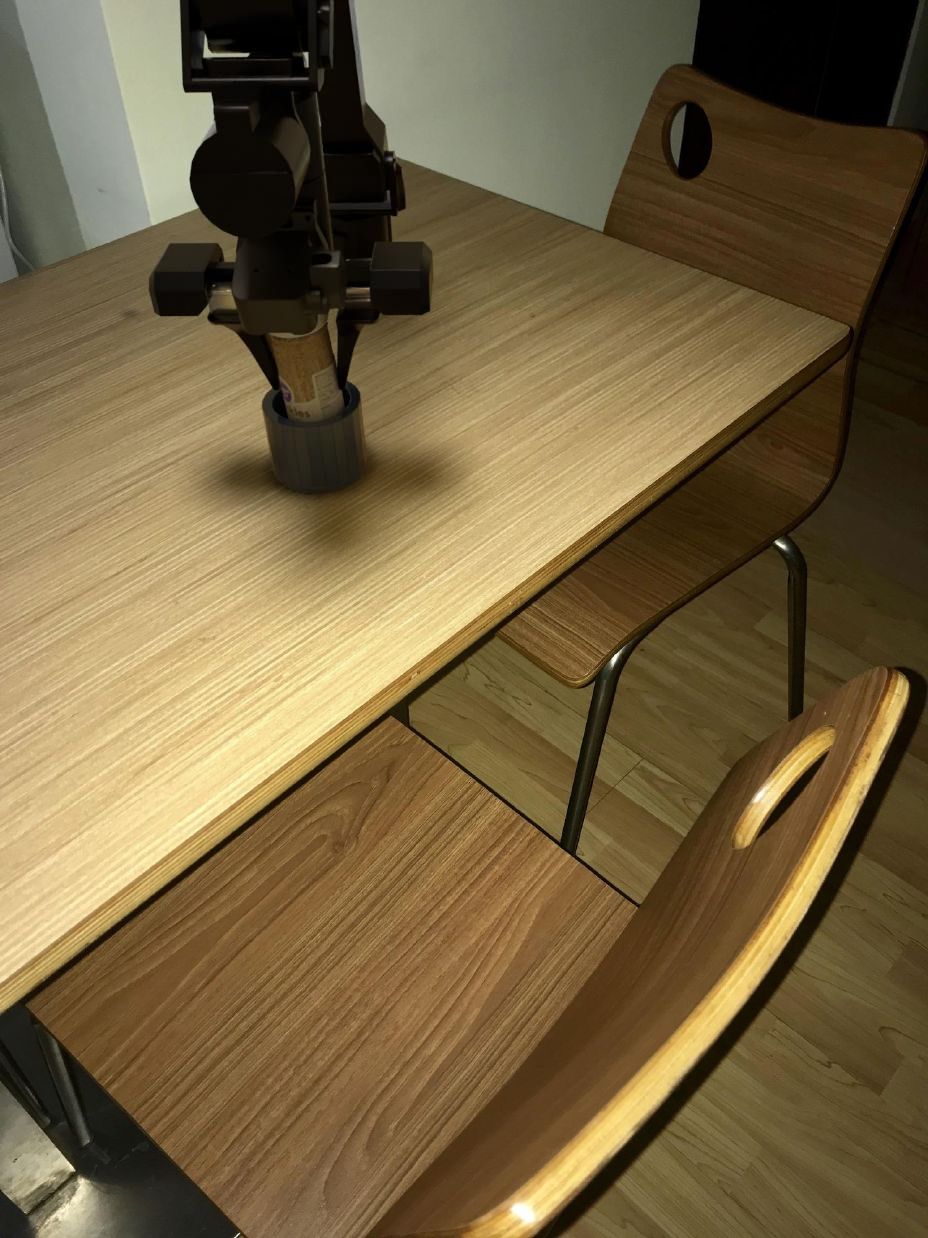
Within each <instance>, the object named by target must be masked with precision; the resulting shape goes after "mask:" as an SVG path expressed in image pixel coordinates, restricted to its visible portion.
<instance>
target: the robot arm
mask: <svg viewBox="0 0 928 1238" xmlns="http://www.w3.org/2000/svg"><path fill="white" fill-rule="evenodd" d="M356 14H357V13H356V5H355V0H179V15H180V16H179V21H180V48H181V49H180V51H181V52H180V53H181V76H182V79H181V82H182V83H181V84H182V89H183V92H184V93H185V94H199V93H202V94H206V93H209V94H211V99H212V105H213V107H212V114H213V121H212V124H211V125H210V126H209V128H208V130H207V132H206V133H205V134H204V137H203V138H202V140H201V142H200V144H199V145H198V147H197V149H196V150H195V153H194V154H193V157H192V160H191V163H190V171H189V178H188V180H189V188H190V191H191V194H192V197H193V200H194V203H195V204H196V206H197V207H198V209H199V211H200V212H201V214H202V215H203V216H204V217H205V218H206V220H207V221H209V222H210V223H211V224H212V225H213V226H215V227H216V228H218V229H219V230H220V231H222V232H224V233H225V234H229V235H231V236H232V237H236V238H237V241H236V248H235V261H225V255H224V250H223V248H222V247H221V245H220V244H219V243H218V242H169V243H168V244H167V246H166V247H165V249H164V250H163V252H162V253H161V255H160V257H159V259H158V260H157V262H156V264H155V266H154V267H153V270H152V271H151V273H150V274H149V277H148V292H149V297H150V300H151V305H152V309H153V312H154V313H155V314H156V316H157V315H158V316H159V317H199V316H200V315H201V314H202V313H203V311H205V309H206V308H207V307H208V308H209V312H208V314H207V317H206V318H207V319H206V320H207V321H208V322H209V324H211V325H213V326H221V327H224V328H226V329H229V331H232V332H234V333H235V334H236V335H237V336H238V338H240V340H241V341H242V343H243V344H244V345H245V347H246V348H247V349H248V350H249V352H250V354H251V355H252V356H253V359H254V360H255V362H256V363H257V366H258V367H259V368H260V370H261V372H262V373H263V376H264V377H265V378H266V380H267V381H268V383H269V385H270V387H271V388H273V390H275V391H279V390H280V387H281V384H280V380H279V372H278V369H277V364H276V360H275V356H274V352H273V348H272V344H271V340H270V337H269V335H268V333H291V334H293V335H305V334H308V333H310V332H312V331H313V330H314V329H315V328H316V326H317V322H318V315H323V314H328V315H329V314H330V310H333V309H337V313H336V318H335V327H336V330H337V331H336V332H337V333H336V334H337V335H336V336H337V339H336V340H337V341H336V345H337V346H336V365H337V379H338V385H339V390H345V387H346V382H347V381H348V377H349V372H350V368H351V364H352V359H353V355H354V351H355V347H356V345H357V343H358V340H359V337H360V335H361V333H362V331H363V329H364V327H365V326H369V325H370V326H372V325H376V324H378V323H379V322H380V320H381V317H382V316H423V315H426V314H427V313H430V312H431V307H432V299H433V297H432V296H433V295H432V294H433V288H434V287H433V286H434V260H433V259H434V258H433V256H434V255H433V250H432V249H431V248H430V247H429V246H428V245H427V244H426V242H425V241H422V240H421V241H419V240H418V241H393V229H392V217H398V215H399V212H401V211H403V210H406V209H407V197H406V185H405V179H404V171H403V167H402V165H400V164H399V162H398V159H397V155H396V151H395V149H392V150H390V149H389V142H388V134H387V127H386V124H385V123H384V121H383V120H382V118H381V117H380V116H379V115H378V114H377V113H376V112H375V111H374V109H372V107H371V106H370V105H369V104H368V102H367V99H366V91H365V81H364V74H363V65H362V64H363V63H362V56H361V49H360V47H361V46H360V40H359V29H358V22H357V15H356ZM205 39H206V40H205ZM205 41H206V45H207V49H208V51H210V53H211V54H217V55H218V54H222V55H223V54H225V55H226V54H247V56H205V55H204V54H205ZM305 53H307V58H306V56H305Z"/></svg>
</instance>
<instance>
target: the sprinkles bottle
mask: <svg viewBox="0 0 928 1238" xmlns="http://www.w3.org/2000/svg"><path fill="white" fill-rule="evenodd" d="M328 320H329V314H323V315H318V322H317V326H316V328H315V329H314V330H313V331H312V332H310V333H308V334H305V335H293V334H291V333H268V335H269V337H270V340H271V344H272V348H273V352H274V356H275V360H276V364H277V369H278V372H279V380H280V384H281V388H282V393H283V397H284V401H285V405H286V410H287V414H288V418H289V420H293V421H300V422H314V421H320V420H325V419H329V418H331V417H334V416H336V415H338V414H339V413H341V412H342V411H344V410H345V405H344V400H343V395H342V390H339V385H338V379H337V359H336V356H335V353H334V351H333V345H332V340H331V339H332V338H331V335H330V331H329V327H328V324H329V321H328Z"/></svg>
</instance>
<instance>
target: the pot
mask: <svg viewBox="0 0 928 1238" xmlns="http://www.w3.org/2000/svg"><path fill="white" fill-rule="evenodd" d="M342 395H343V400H344V405H345V410H344V411H342V412H341V413H339V414H338V415H336V416H334V417H331V418H329V419H325V420H320V421H314V422H300V421H293V420H289V418H288V414H287V410H286V405H285V401H284V397H283V393H282V388H281V387H280V390H279V391H275V390H273V388H272V387H271V388H270V389H269V390H268V391H267V392H266V393H264V396H263V398H262V400H261V412H262V416H263V417H262V418H263V422H264V428H265V433H266V439H267V444H268V450H269V454H270V461H271V465H272V470H273V474H274V476H275V478H276V480H277V481H278V482H279V483H280V484H281V485H282V486H284V487H285V488H287V489H289V490H291V491H294V492H297V493H302V494H310V495H311V494H315V495H317V494H319V495H320V494H328V493H332V492H337V491H340V490H343V489H346V488H347V487H349V486H351V485H353V484H354V483H356V482H358V480H360V479H361V477H362V476H363V475H364V474H365V472H366V470H367V468H368V455H367V443H366V433H365V424H364V413H363V404H362V395H361V391H360V390H359V388H358V387H357V385H355V384H353V383H352V382H351V381H350V380H347V382H346V387H345V390H342Z"/></svg>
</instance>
